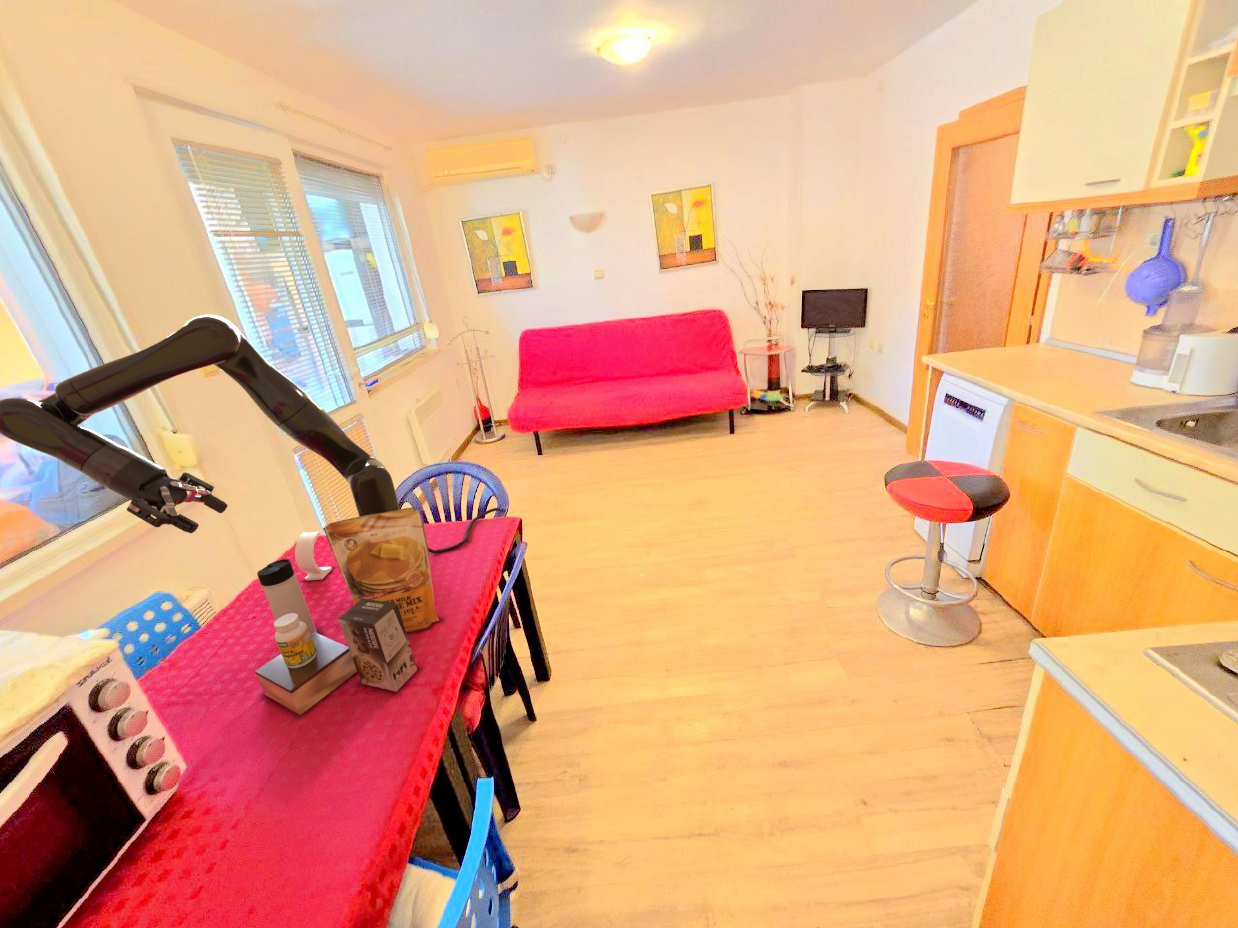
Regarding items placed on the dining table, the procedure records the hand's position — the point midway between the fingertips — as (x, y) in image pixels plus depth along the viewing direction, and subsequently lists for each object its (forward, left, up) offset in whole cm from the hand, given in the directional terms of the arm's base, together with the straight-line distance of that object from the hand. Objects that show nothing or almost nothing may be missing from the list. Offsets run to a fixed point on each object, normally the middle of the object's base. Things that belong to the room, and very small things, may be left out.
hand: (211, 519), depth 100 cm
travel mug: (-5, +5, -33) cm, 34 cm away
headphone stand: (-23, -18, -33) cm, 44 cm away
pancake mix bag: (-18, +23, -33) cm, 44 cm away
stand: (+2, +20, -33) cm, 38 cm away
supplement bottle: (+2, +20, -27) cm, 33 cm away
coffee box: (-6, +34, -33) cm, 47 cm away
